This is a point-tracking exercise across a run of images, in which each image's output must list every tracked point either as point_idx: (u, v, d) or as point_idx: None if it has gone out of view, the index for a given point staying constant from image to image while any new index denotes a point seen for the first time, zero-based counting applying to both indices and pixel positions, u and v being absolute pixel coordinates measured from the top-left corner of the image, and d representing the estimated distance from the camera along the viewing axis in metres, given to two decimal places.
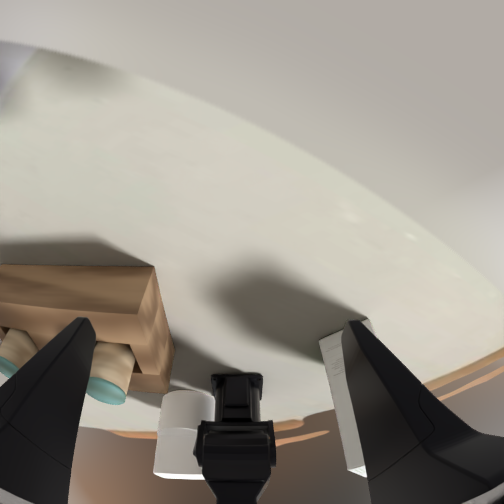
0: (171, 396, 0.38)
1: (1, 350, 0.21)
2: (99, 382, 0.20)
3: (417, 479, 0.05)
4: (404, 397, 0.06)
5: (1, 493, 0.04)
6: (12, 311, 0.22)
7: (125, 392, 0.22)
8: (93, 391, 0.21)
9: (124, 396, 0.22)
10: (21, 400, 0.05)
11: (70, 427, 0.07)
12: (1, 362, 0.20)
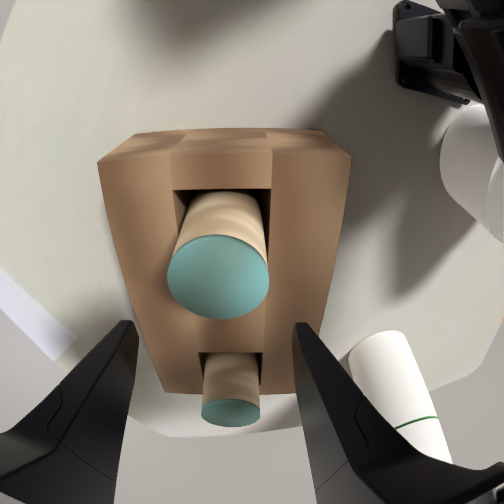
0: (447, 181, 0.19)
1: None
2: (170, 275, 0.12)
3: (348, 497, 0.05)
4: (339, 408, 0.06)
5: None
6: (163, 354, 0.21)
7: (220, 233, 0.11)
8: (219, 302, 0.12)
9: (219, 239, 0.11)
10: (72, 415, 0.05)
11: (116, 438, 0.07)
12: (208, 415, 0.18)
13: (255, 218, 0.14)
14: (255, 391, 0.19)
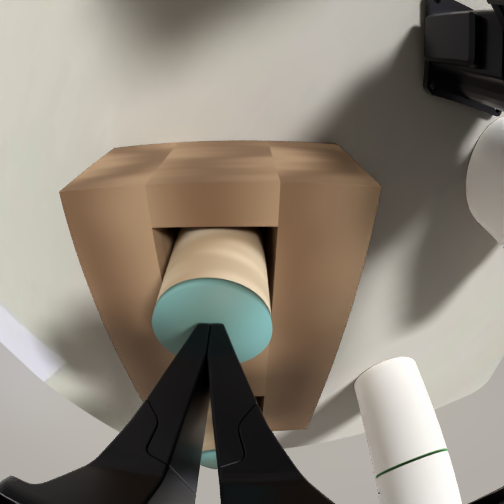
0: (473, 203, 0.16)
1: None
2: (155, 321, 0.10)
3: None
4: (224, 414, 0.06)
5: None
6: None
7: (213, 275, 0.09)
8: None
9: (212, 284, 0.09)
10: (175, 432, 0.06)
11: (199, 448, 0.07)
12: (205, 461, 0.15)
13: (256, 249, 0.12)
14: None
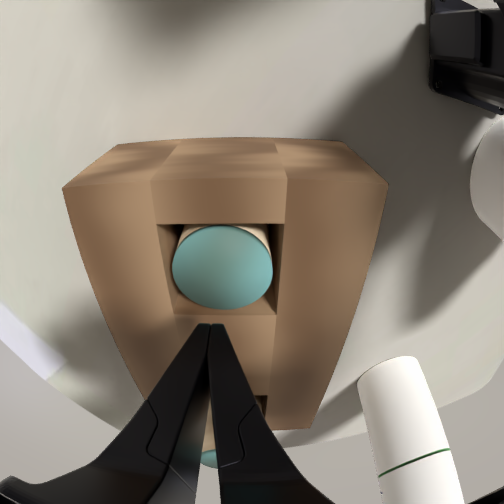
0: (477, 201, 0.16)
1: None
2: (175, 265, 0.12)
3: None
4: (224, 414, 0.06)
5: None
6: None
7: (224, 223, 0.11)
8: (223, 292, 0.13)
9: (224, 229, 0.11)
10: (175, 432, 0.06)
11: (199, 448, 0.07)
12: (207, 461, 0.15)
13: None
14: None
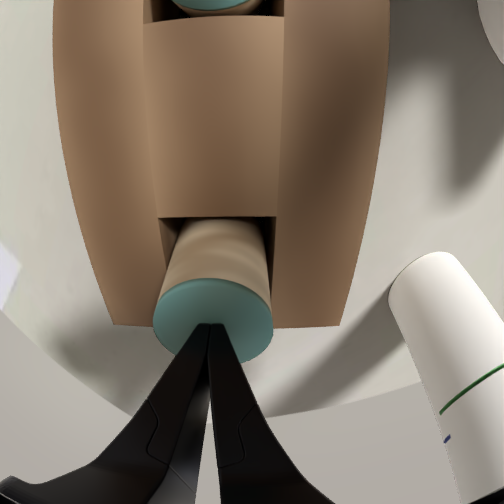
0: (492, 28, 0.10)
1: None
2: None
3: None
4: (224, 414, 0.06)
5: None
6: (102, 229, 0.12)
7: None
8: None
9: None
10: (175, 432, 0.06)
11: (199, 448, 0.07)
12: (168, 328, 0.10)
13: None
14: (263, 280, 0.10)
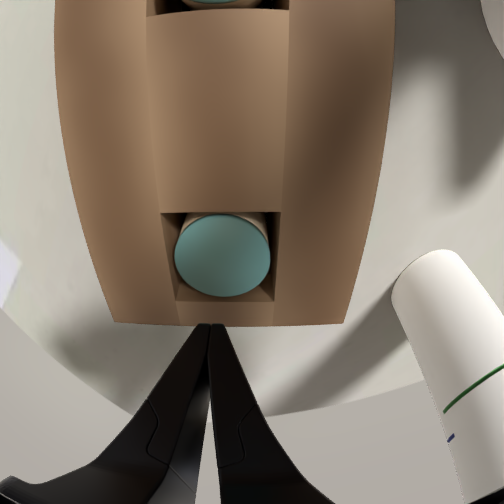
0: (495, 25, 0.09)
1: None
2: None
3: None
4: (224, 414, 0.06)
5: None
6: (103, 225, 0.12)
7: None
8: None
9: None
10: (175, 432, 0.06)
11: (199, 448, 0.07)
12: (186, 258, 0.13)
13: None
14: (262, 222, 0.13)
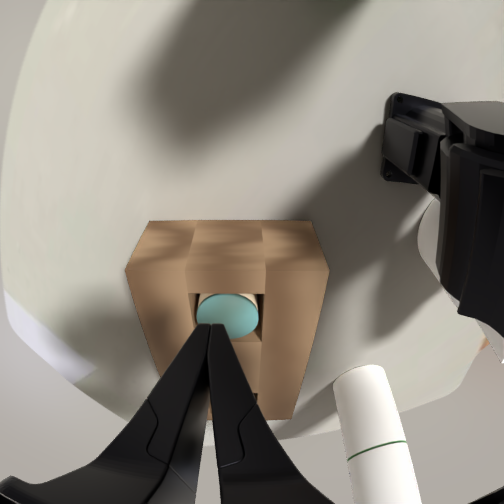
0: (422, 252, 0.23)
1: None
2: (198, 314, 0.19)
3: None
4: (224, 414, 0.06)
5: None
6: None
7: None
8: (228, 329, 0.20)
9: (229, 295, 0.18)
10: (175, 432, 0.06)
11: (199, 448, 0.07)
12: None
13: None
14: None
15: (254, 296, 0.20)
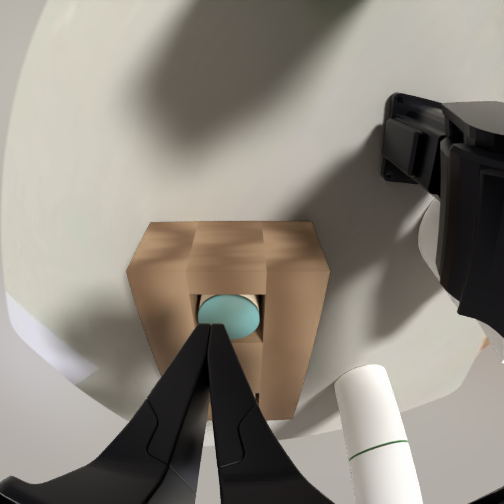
0: (422, 252, 0.23)
1: None
2: (199, 315, 0.19)
3: None
4: (224, 414, 0.06)
5: None
6: None
7: None
8: (229, 330, 0.20)
9: (230, 296, 0.19)
10: (175, 432, 0.06)
11: (199, 448, 0.07)
12: None
13: None
14: None
15: (255, 297, 0.20)
